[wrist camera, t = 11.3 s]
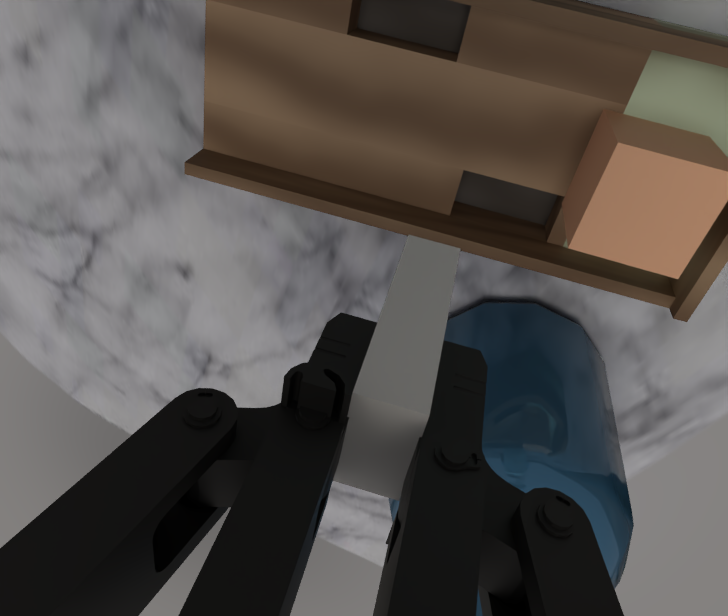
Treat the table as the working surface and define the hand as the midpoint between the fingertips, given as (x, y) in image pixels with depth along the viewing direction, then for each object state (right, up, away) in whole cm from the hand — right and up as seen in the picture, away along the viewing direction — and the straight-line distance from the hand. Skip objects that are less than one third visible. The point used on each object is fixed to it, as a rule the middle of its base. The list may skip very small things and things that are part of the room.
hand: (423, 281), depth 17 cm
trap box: (+4, +11, +17) cm, 21 cm away
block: (+13, +7, +14) cm, 20 cm away
